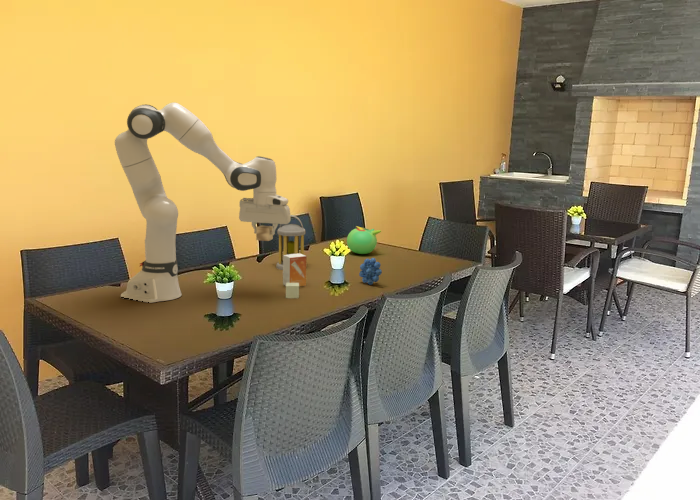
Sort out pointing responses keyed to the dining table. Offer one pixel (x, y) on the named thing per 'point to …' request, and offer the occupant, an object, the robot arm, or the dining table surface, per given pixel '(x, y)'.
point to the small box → (294, 269)
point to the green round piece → (362, 240)
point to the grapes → (370, 271)
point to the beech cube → (264, 233)
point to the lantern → (290, 246)
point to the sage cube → (292, 290)
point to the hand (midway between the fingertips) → (264, 234)
